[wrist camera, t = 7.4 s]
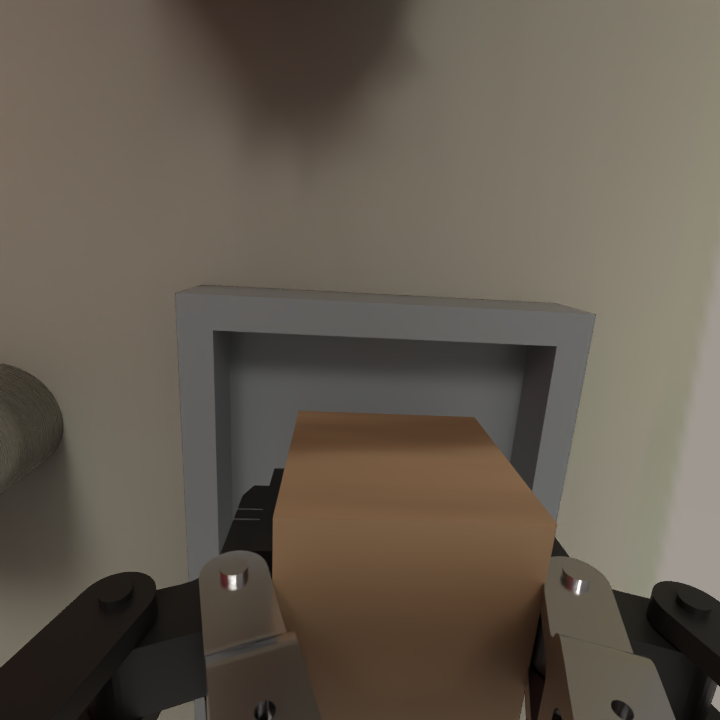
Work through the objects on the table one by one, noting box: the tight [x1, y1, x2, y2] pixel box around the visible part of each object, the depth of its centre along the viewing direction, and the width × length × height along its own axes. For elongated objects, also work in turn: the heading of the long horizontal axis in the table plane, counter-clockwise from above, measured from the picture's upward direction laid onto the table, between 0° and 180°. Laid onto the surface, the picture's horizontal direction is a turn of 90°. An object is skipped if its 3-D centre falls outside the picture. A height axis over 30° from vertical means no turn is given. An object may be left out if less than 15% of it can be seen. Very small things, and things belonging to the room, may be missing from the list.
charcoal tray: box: [175, 285, 596, 720], centre depth 16 cm, size 18×12×2 cm, turn 177°
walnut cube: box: [272, 411, 557, 720], centre depth 11 cm, size 5×5×5 cm
